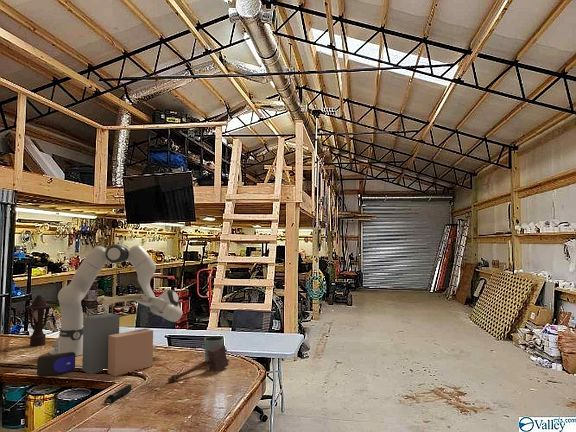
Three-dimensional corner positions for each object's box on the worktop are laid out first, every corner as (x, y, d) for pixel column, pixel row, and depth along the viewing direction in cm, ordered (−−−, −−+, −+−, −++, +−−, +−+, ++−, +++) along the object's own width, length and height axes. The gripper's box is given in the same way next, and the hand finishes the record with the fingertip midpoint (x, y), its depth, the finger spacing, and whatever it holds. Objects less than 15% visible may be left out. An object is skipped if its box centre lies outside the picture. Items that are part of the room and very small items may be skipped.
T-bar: (98, 303, 218) (98, 297, 218) (139, 298, 236) (139, 292, 236) (105, 304, 214) (105, 298, 214) (146, 299, 231) (146, 293, 231)
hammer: (230, 364, 216) (227, 345, 216) (174, 395, 192) (171, 374, 191) (221, 362, 221) (218, 343, 220) (166, 392, 197) (162, 371, 196)
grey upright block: (82, 370, 212) (83, 317, 213) (109, 364, 223) (110, 313, 224) (90, 374, 206) (92, 319, 207) (118, 367, 217) (119, 315, 218)
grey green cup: (213, 357, 235) (213, 335, 236) (227, 360, 229) (227, 337, 230) (199, 361, 227) (200, 338, 227) (213, 365, 221) (213, 341, 221)
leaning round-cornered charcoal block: (37, 378, 200) (37, 358, 200) (36, 376, 204) (37, 355, 204) (76, 372, 209) (76, 352, 209) (74, 370, 213) (75, 350, 213)
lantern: (30, 342, 269) (32, 293, 271) (55, 341, 271) (56, 293, 272) (18, 348, 255) (20, 297, 256) (45, 347, 256) (46, 296, 258)
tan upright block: (107, 373, 208) (108, 335, 209) (145, 363, 223) (145, 328, 224) (115, 376, 203) (115, 337, 204) (152, 366, 219) (153, 330, 219)
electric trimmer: (134, 392, 184) (134, 384, 184) (111, 405, 169) (111, 396, 169) (126, 391, 185) (126, 383, 185) (103, 404, 170) (103, 396, 170)
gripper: (150, 299, 248) (131, 288, 239) (171, 302, 235) (151, 291, 226) (145, 309, 246) (125, 299, 237) (166, 313, 232) (146, 303, 224)
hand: (138, 295), depth 231 cm, fingers closed on T-bar, 3 cm apart
